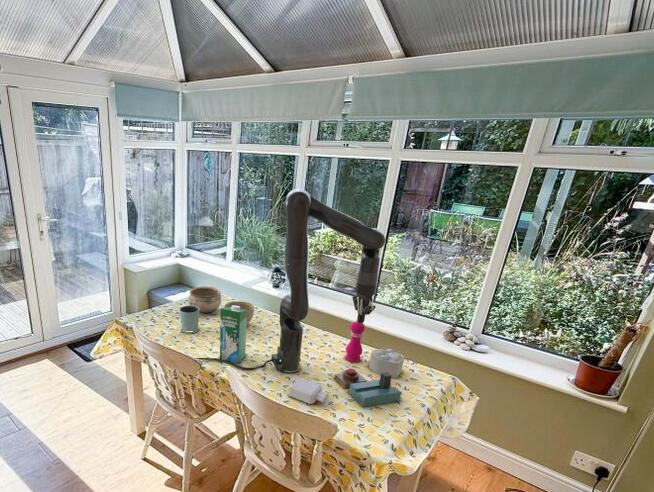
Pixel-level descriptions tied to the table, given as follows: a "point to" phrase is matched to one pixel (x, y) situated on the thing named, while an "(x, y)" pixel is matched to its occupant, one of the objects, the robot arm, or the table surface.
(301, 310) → the robot arm
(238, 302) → the planter bowl
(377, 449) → the table surface
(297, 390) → the charger
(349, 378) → the panel
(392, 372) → the lumpy-topped squat cylinder
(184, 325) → the grey-green cylindrical pot
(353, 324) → the pepper mill
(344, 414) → the table surface
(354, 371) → the button
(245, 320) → the milk carton
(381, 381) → the slider
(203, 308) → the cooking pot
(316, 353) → the table surface
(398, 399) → the control base
